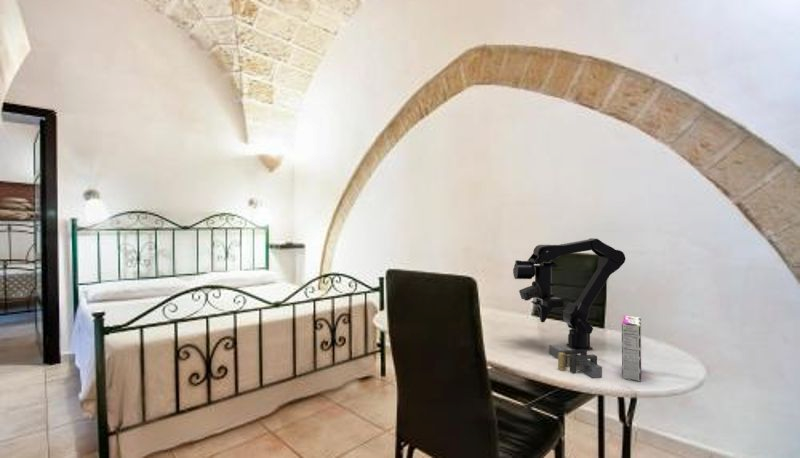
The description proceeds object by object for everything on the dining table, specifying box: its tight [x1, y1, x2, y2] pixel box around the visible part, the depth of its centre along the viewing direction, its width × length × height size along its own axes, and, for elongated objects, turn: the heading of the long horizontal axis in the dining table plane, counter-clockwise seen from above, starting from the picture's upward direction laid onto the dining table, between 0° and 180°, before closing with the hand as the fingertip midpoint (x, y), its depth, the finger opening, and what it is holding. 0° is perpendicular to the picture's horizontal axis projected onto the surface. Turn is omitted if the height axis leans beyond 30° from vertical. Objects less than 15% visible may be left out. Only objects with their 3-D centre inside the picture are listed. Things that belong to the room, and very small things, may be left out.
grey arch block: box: [561, 349, 588, 368], centre depth 124 cm, size 8×2×5 cm, turn 98°
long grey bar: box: [548, 343, 603, 379], centre depth 125 cm, size 22×3×3 cm, turn 11°
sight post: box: [557, 352, 571, 371], centre depth 121 cm, size 4×2×5 cm, turn 98°
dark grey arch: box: [569, 353, 598, 374], centre depth 119 cm, size 8×2×5 cm, turn 98°
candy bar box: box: [621, 315, 642, 382], centre depth 117 cm, size 11×5×16 cm, turn 148°
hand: (542, 322), depth 143 cm, fingers closed
